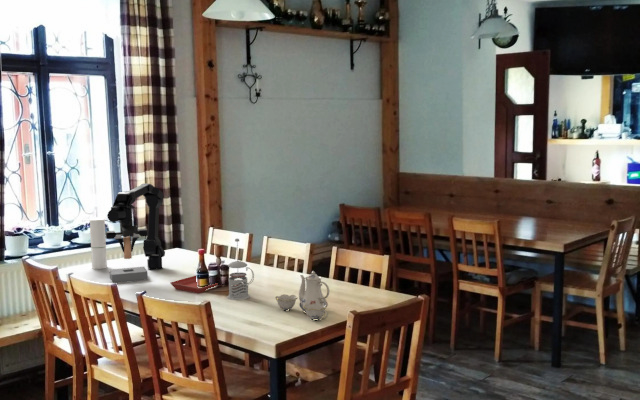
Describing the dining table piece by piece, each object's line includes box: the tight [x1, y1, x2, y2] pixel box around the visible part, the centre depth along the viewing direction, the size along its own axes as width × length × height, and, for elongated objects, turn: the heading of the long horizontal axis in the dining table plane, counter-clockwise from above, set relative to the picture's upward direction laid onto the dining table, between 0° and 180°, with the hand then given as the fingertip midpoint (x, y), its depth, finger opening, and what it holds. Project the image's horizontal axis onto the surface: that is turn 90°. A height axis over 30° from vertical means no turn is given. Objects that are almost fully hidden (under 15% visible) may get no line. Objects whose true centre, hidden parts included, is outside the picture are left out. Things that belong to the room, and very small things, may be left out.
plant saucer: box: [170, 275, 218, 294], centre depth 300 cm, size 18×18×3 cm
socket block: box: [109, 266, 149, 284], centre depth 318 cm, size 16×12×4 cm
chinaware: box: [275, 270, 330, 320], centre depth 258 cm, size 28×17×17 cm, turn 46°
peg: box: [122, 236, 133, 260], centre depth 316 cm, size 3×3×10 cm
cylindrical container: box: [89, 217, 108, 270], centre depth 342 cm, size 7×7×25 cm
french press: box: [226, 238, 255, 301], centre depth 282 cm, size 10×12×25 cm
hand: (127, 251), depth 316 cm, fingers closed on peg, 3 cm apart
